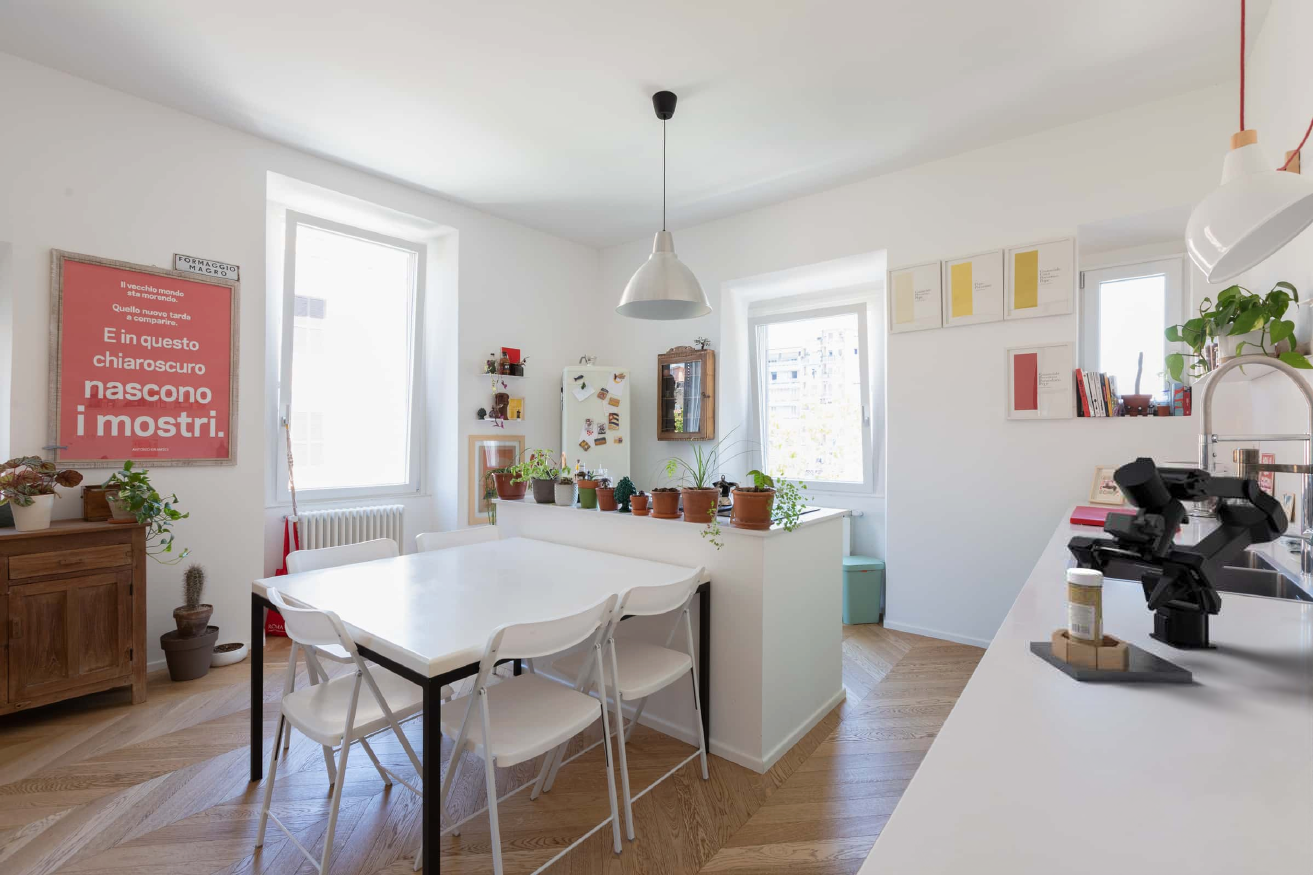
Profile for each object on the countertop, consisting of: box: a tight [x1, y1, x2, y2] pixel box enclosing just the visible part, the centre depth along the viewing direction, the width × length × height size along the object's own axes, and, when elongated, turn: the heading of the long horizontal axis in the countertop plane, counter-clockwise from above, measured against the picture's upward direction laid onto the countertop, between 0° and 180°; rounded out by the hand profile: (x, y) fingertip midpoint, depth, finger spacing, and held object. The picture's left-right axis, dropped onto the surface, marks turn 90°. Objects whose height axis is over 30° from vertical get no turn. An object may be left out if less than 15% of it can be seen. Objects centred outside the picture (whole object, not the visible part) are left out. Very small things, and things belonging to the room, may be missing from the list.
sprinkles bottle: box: [1066, 567, 1104, 647], centre depth 91 cm, size 5×5×14 cm
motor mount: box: [1029, 628, 1193, 684], centre depth 91 cm, size 16×12×4 cm
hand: (1115, 601), depth 93 cm, fingers open, 9 cm apart
